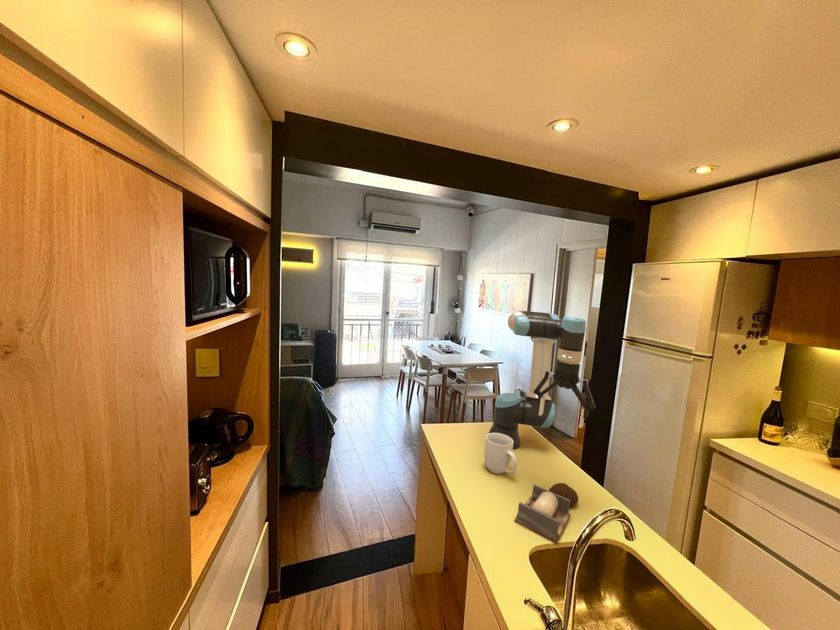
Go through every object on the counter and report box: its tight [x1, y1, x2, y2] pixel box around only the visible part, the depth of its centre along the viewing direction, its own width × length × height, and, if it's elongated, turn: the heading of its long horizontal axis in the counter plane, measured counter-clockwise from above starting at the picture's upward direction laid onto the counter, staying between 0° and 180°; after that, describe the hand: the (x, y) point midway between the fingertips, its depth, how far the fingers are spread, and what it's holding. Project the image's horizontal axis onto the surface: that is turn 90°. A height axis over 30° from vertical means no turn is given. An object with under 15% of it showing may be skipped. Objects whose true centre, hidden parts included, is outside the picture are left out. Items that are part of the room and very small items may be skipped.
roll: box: [531, 492, 558, 517], centre depth 108 cm, size 10×6×6 cm, turn 143°
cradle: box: [514, 483, 572, 544], centre depth 108 cm, size 16×13×6 cm
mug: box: [483, 432, 518, 475], centre depth 134 cm, size 15×11×13 cm
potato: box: [548, 482, 579, 507], centre depth 118 cm, size 7×10×7 cm
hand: (560, 420), depth 118 cm, fingers open, 13 cm apart
